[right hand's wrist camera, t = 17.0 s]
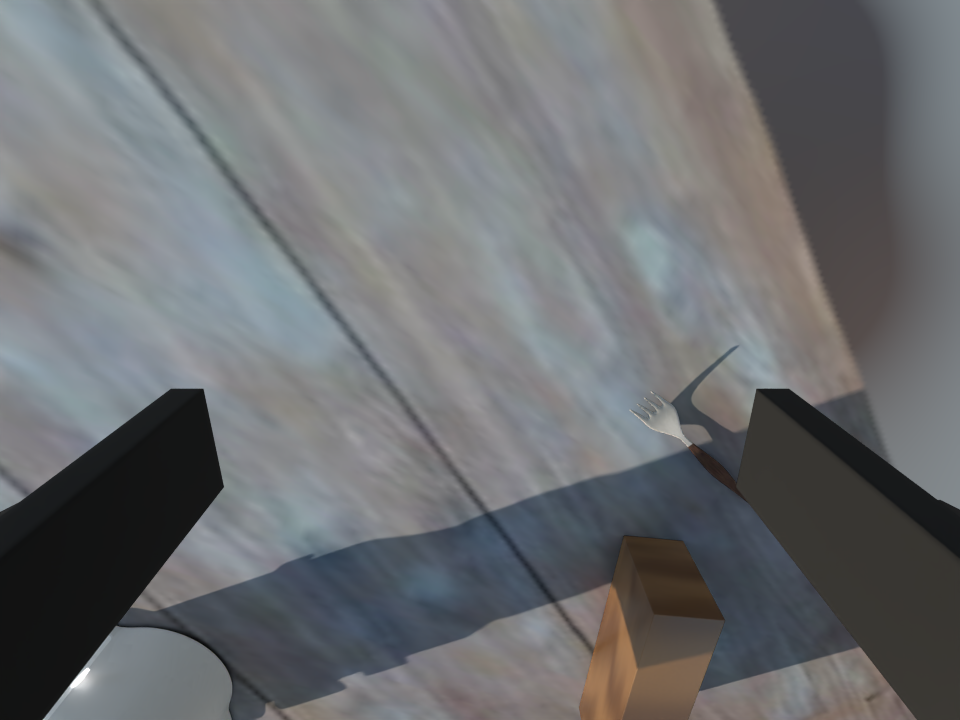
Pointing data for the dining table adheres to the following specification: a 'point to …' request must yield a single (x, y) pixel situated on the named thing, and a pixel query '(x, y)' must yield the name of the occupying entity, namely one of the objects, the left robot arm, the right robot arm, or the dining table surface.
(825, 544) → the right robot arm
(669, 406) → the fork
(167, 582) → the dining table surface
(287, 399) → the dining table surface
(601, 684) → the bar
